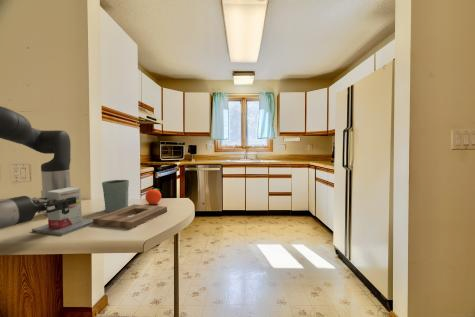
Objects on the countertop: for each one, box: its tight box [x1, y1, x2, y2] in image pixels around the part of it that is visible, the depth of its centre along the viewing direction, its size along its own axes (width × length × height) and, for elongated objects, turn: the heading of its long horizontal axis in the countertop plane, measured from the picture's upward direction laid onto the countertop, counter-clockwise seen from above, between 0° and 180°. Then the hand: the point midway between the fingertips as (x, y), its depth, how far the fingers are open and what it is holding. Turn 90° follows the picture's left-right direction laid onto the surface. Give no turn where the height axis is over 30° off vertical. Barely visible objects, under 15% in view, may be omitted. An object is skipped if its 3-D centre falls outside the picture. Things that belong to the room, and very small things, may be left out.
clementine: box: [144, 188, 162, 205], centre depth 111 cm, size 8×7×7 cm
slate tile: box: [31, 217, 94, 236], centre depth 81 cm, size 13×13×1 cm
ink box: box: [46, 187, 83, 229], centre depth 81 cm, size 9×5×12 cm, turn 167°
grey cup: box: [101, 179, 130, 213], centre depth 102 cm, size 10×10×12 cm
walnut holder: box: [92, 203, 168, 229], centre depth 90 cm, size 16×20×2 cm
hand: (65, 199), depth 81 cm, fingers open, 8 cm apart
